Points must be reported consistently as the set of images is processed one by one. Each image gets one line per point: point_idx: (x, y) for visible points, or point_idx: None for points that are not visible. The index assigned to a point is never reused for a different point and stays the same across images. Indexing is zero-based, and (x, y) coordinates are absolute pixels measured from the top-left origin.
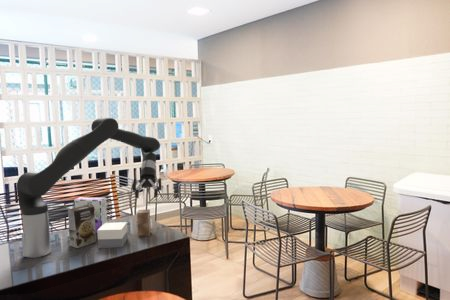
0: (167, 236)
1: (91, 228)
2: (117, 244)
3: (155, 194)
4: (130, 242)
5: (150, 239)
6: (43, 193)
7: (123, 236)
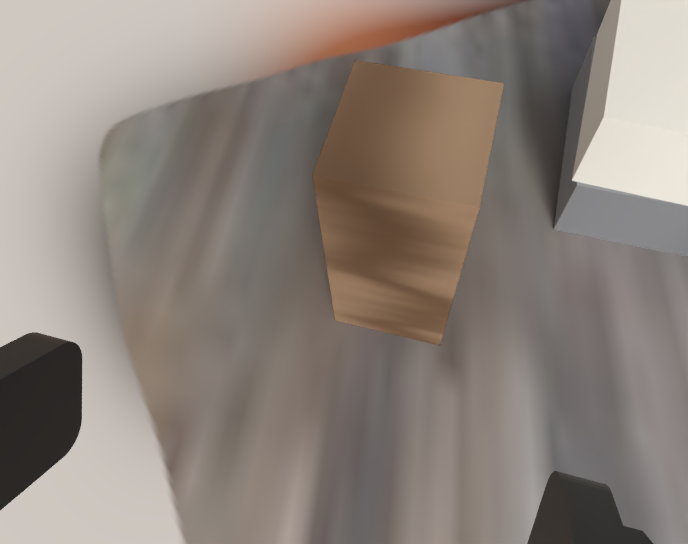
0: (222, 169)
1: None
2: None
3: (12, 343)
4: (520, 144)
5: None
6: None
7: (590, 68)
